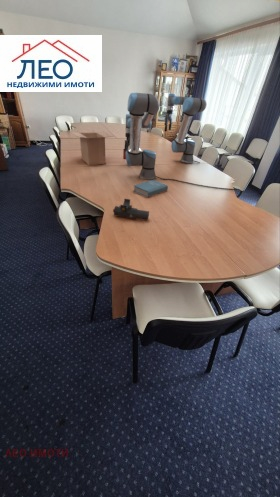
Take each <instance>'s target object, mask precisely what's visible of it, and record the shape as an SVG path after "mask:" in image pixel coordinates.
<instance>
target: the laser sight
mask: <svg viewBox="0 0 280 497" xmlns="http://www.w3.org/2000/svg"><path fill="white" fill-rule="evenodd" d="M112 213H113V215H114V216H115V217H116V216H117V217H119V218H127V219H131V220H132V219H133V220H136V219H137V220H142V221H143V220H145V221H149V217H150V210H149V211H148V210H143V209H138V208H135V207H133V205H131V199H130V198H124V199H123V204H120V205H119V206H118V205H115V206H114V208H113V210H112Z"/></svg>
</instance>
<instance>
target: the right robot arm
mask: <svg viewBox="0 0 280 497" xmlns="http://www.w3.org/2000/svg"><path fill="white" fill-rule="evenodd" d="M167 98H168V99H167V106H166V116H165V120H164V132H165V133H166V132H168V131H171V130H172V125H173V114H174V110H175V106H182V109H181V110H182V113H183V116H182V120H181V123H180V125H179V126H180V127H179V131H178V133H177V136H176V137H175V139H174V140H173V141H171V144H170V145H171V146H170V147H171V151H172V152H173V153H175V154H176V153H182V155H181V157H180V159H179V162H180V163H183V164H187V165H188V164H191V165H192V164H194V163H197V164H200V163H201V162H200V161H197V160H195V159H194V153H195V148H196V141H195V140H191V139H187V138H186V137H187V135H188V131H189V129H190V125H191V122H192V119H193V117H195V115H196V113H203V112H204V111H205V110H206V109H207V105H208V104H207V100H205V98H202V97H192V96H191V97H190V96H178V95H176V93H168V97H167Z"/></svg>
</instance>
